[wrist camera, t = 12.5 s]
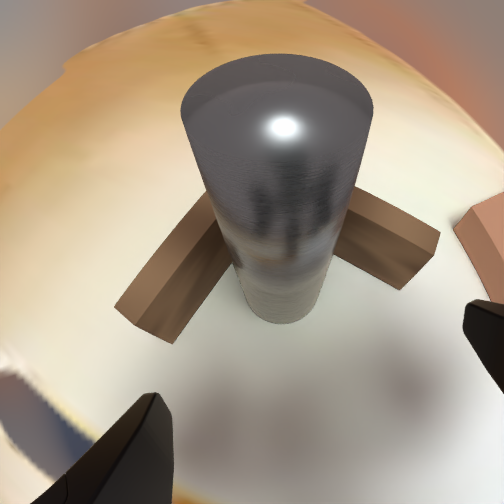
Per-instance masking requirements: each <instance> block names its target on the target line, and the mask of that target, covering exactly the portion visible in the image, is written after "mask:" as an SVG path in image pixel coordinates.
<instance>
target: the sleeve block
mask: <svg viewBox="0 0 504 504" xmlns="http://www.w3.org/2000/svg"><path fill="white" fill-rule="evenodd" d="M453 230H454V232H455V233H456V235H457V237H458V238H459V240H460V242H461V244H462V245H463V247H464V249H465V251H466V252H467V254H468V256H469V258H470V260H471V261H472V263H473V265H474V267H475V269H476V271H477V273H478V275H479V277H480V279H481V281H482V283H483V285H484V287H485V289H486V291H487V293H488V295H489V297H490V299H491V302H495V303H501V304H504V192H502V193H500V194H498V195H496V196H494V197H491V198H489V199H487V200H485V201H483V202H481V203H479V204H476V205H474V206H472V207H471V208H470V209H469V210H468V212H467V213H466V214H465V215H464V217H463V218H462V219H461V220H460V222H459V223H458V224H457V225H456V226H455V228H454V229H453Z"/></svg>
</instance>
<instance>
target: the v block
mask: <svg viewBox="0 0 504 504" xmlns="http://www.w3.org/2000/svg"><path fill="white" fill-rule="evenodd" d="M440 233H441V232H439V231H438V230H436V229H434V228H433V227H431V226H429V225H427V224H426V223H424V222H422V221H420V220H419V219H417V218H415V217H413V216H412V215H410V214H408V213H406V212H404V211H402V210H401V209H399V208H397V207H395V206H393V205H391V204H389V203H387V202H385V201H383V200H382V199H380V198H378V197H376V196H374V195H372V194H370V193H368V192H366V191H364V190H362V189H360V188H358V187H355V186H354V189H353V193H352V196H351V200H350V203H349V206H348V210H347V213H346V216H345V219H344V223H343V226H342V229H341V232H340V235H339V238H338V241H337V244H336V247H335V250H334V253H333V254H334V255H336V256H338V257H340V258H342V259H344V260H346V261H347V262H349V263H351V264H353V265H355V266H357V267H358V268H360V269H362V270H364V271H366V272H368V273H369V274H371V275H373V276H375V277H377V278H378V279H380V280H382V281H384V282H386V283H387V284H389V285H391V286H393V287H395V288H396V289H398V290H401V289H402V288H403V287H404V286H405V285H406V284H407V283H408V282H409V281H410V280H411V279H412V278H413V277H414V276H415V275H416V274H417V273H418V272H419V271H420V270H421V269H422V267H423V266H424V265H425V264H426V263H427V262H428V261H429V260H430V259H431V258H432V257H433V256H434V253H435V250H436V247H437V244H438V240H439V237H440ZM231 263H232V260H231V257H230V254H229V252H228V249H227V246H226V243H225V241H224V238H223V235H222V232H221V230H220V227H219V224H218V221H217V219H216V216H215V213H214V210H213V207H212V205H211V202H210V199H209V196H208V193H207V191H206V192H205V193H204V194H203V195H202V196H201V197H200V199H199V200H198V201H197V202H196V203H195V204H194V206H193V207H192V208H191V209H190V210H189V211H188V213H187V214H186V215H185V216H184V217H183V219H182V220H181V221H180V222H179V223H178V225H177V226H176V227H175V228H174V229H173V231H172V232H171V233H170V234H169V236H168V237H167V238H166V239H165V241H164V242H163V243H162V244H161V246H160V247H159V248H158V249H157V251H156V252H155V253H154V254H153V256H152V257H151V258H150V259H149V261H148V262H147V263H146V265H145V266H144V267H143V268H142V270H141V271H140V272H139V274H138V275H137V276H136V278H135V279H134V280H133V282H132V283H131V284H130V286H129V287H128V288H127V290H126V291H125V292H124V294H123V295H122V296H121V298H120V299H119V301H118V302H117V303H116V305H115V306H114V308H116V309H117V310H118V311H119V312H120V313H121V314H122V315H123V316H124V317H125V318H127V319H128V320H129V321H130V322H131V323H132V324H133V325H135V326H136V327H138V328H140V329H142V330H144V331H146V332H148V333H150V334H152V335H154V336H156V337H158V338H160V339H162V340H164V341H166V342H169V343H171V344H173V343H174V341H175V340H176V338H177V337H178V336H179V334H180V333H181V331H182V330H183V329H184V327H185V326H186V325H187V323H188V322H189V320H190V319H191V318H192V316H193V315H194V313H195V312H196V311H197V309H198V308H199V307H200V305H201V304H202V302H203V301H204V300H205V298H206V297H207V296H208V294H209V293H210V291H211V290H212V289H213V287H214V286H215V285H216V283H217V282H218V280H219V279H220V278H221V276H222V275H223V274H224V272H225V271H226V269H227V268H228V267H229V265H230V264H231Z"/></svg>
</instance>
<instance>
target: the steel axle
mask: <svg viewBox="0 0 504 504" xmlns="http://www.w3.org/2000/svg"><path fill="white" fill-rule="evenodd" d="M372 117H373V102H372V99H371V97H370V94H369V92H368V91H367V89H366V88H365V87H364V85H363V84H362V83H361V82H360V81H359V80H358V79H357V78H355V77H354V76H353V75H351V74H350V73H349V72H347V71H345V70H344V69H342V68H340V67H338V66H336V65H334V64H331V63H329V62H326V61H323V60H320V59H316V58H312V57H307V56H302V55H294V54H263V55H256V56H250V57H245V58H241V59H237V60H234V61H231V62H228V63H226V64H223V65H221V66H219V67H217V68H215V69H213V70H211V71H209V72H208V73H206V74H205V75H203V76H202V77H201V78H199V79H198V80H197V81H196V82H195V83H194V84H193V85H192V86H191V87H190V88H189V90H188V91H187V93H186V94H185V96H184V98H183V101H182V104H181V118H182V121H183V124H184V127H185V130H186V133H187V136H188V139H189V142H190V145H191V148H192V151H193V154H194V157H195V159H196V162H197V165H198V168H199V171H200V174H201V177H202V179H203V182H204V185H205V188H206V191H207V193H208V196H209V199H210V202H211V205H212V207H213V210H214V213H215V216H216V219H217V221H218V224H219V227H220V230H221V232H222V235H223V238H224V241H225V243H226V246H227V249H228V252H229V254H230V257H231V260H232V262H233V265H234V268H235V270H236V273H237V276H238V278H239V281H240V284H241V286H242V289H243V292H244V294H245V297H246V300H247V302H248V304H249V306H250V308H251V309H252V311H253V312H254V313H255V314H256V315H257V316H259V317H260V318H262V319H263V320H265V321H268V322H271V323H275V324H288V323H293V322H295V321H298V320H300V319H302V318H303V317H305V316H306V315H307V314H308V313H309V312H310V311H311V310H312V308H313V307H314V305H315V303H316V301H317V298H318V296H319V293H320V290H321V287H322V285H323V282H324V279H325V276H326V273H327V271H328V268H329V265H330V262H331V259H332V256H333V253H334V250H335V247H336V244H337V241H338V238H339V235H340V232H341V229H342V226H343V223H344V219H345V216H346V213H347V210H348V206H349V203H350V200H351V196H352V193H353V189H354V186H355V183H356V179H357V175H358V172H359V168H360V165H361V161H362V157H363V153H364V149H365V146H366V142H367V138H368V134H369V130H370V125H371V121H372Z"/></svg>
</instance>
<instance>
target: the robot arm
mask: <svg viewBox="0 0 504 504" xmlns="http://www.w3.org/2000/svg"><path fill="white" fill-rule="evenodd" d="M463 332H464V334H465V336H466V338H467V339H468V341H469V342H470V344H471V345H472V347H473V349H474V350H475V352H476V353H477V355H478V357H479V358H480V360H481V362H482V363H483V365H484V367H485V368H486V370H487V371H488V373H489V374H490V375H491V377H492V378H493V380H494V381H495V382H496V384H497V385H498V387H499V388H500V389H501V391H502V392H503V394H504V304H501V303H495V302H490V301H485V300H479V299H476V300H473V301H471V302H469V303H468V304H467V305H466V307H465V313H464V320H463ZM173 473H174V453H173V425H172V415H171V412H170V410H169V409H168V407H167V405H166V404H165V402H164V400H163V399H162V397H161V395H160V394H159V393H156V392H154V393H146V394H143V395H142V396H141V397H140V398H139V399H138V400H137V401H136V402H135V403H134V404H133V405H132V406H131V407H130V408H129V409H128V410H127V411H126V412H125V413H124V414H123V415H122V416H121V417H120V418H119V420H118V421H117V422H116V423H115V424H114V425H113V426H112V427H111V428H110V429H109V430H108V431H107V432H106V433H105V434H104V435H103V436H102V437H101V438H100V439H99V440H98V441H97V442H96V443H95V444H94V445H93V446H92V447H91V448H90V449H89V450H88V451H87V452H86V453H85V454H84V455H83V456H82V457H81V458H80V459H79V460H78V461H77V462H76V463H75V464H74V465H73V466H72V467H71V468H70V469H68V470H67V472H66V474H63V475H62V476H61V477H60V478H59V479H58V480H57V481H56V482H55V483H54V484H53V485H52V486H51V487H50V488H49V489H47V490H46V491H45V492H44V493H43V494H42V495H40V496H39V497H38V498H37V499H36V500H34V501H33V502H32V503H30V504H172V488H173Z"/></svg>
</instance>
